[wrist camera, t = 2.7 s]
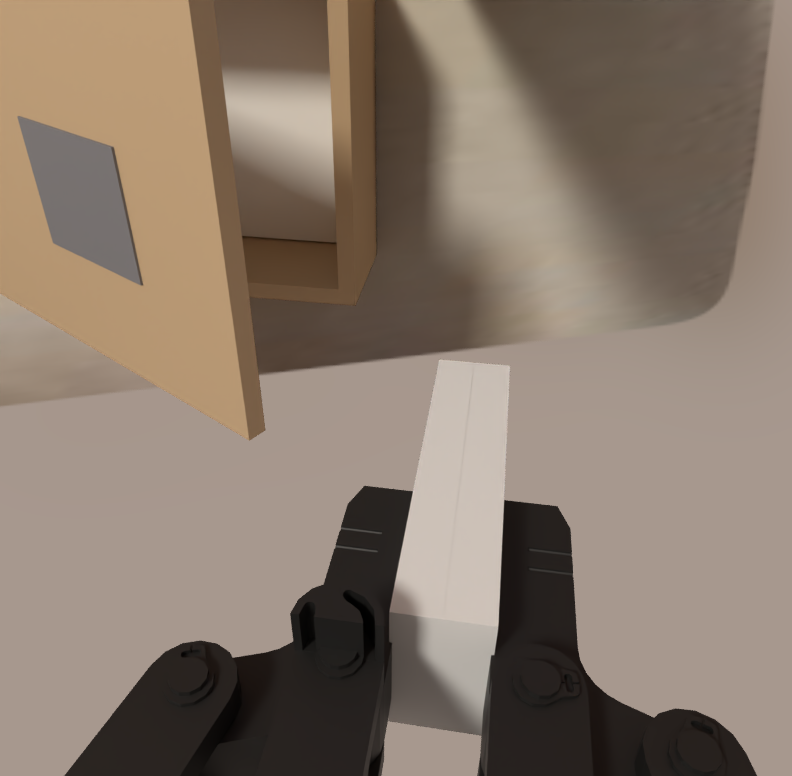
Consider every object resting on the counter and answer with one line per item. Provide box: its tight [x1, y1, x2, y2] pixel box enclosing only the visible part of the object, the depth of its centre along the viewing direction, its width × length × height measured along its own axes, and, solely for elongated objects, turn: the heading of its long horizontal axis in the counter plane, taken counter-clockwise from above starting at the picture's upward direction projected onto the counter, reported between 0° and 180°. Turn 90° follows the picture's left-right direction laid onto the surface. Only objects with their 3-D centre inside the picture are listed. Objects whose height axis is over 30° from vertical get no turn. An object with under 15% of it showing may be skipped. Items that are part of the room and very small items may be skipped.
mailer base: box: [213, 0, 377, 306], centre depth 34 cm, size 18×14×6 cm
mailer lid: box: [0, 0, 265, 440], centre depth 27 cm, size 19×15×1 cm
